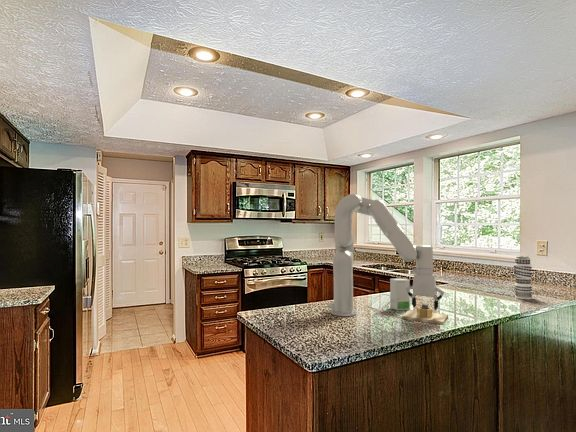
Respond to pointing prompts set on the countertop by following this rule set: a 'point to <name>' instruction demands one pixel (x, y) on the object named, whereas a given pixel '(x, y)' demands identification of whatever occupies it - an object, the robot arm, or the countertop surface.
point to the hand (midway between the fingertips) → (424, 307)
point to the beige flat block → (434, 319)
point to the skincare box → (399, 294)
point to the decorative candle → (523, 277)
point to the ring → (424, 312)
